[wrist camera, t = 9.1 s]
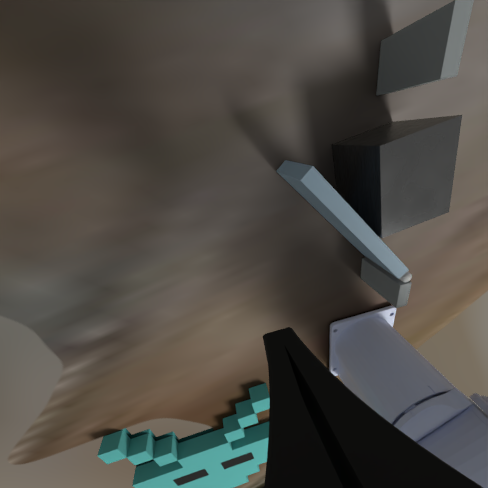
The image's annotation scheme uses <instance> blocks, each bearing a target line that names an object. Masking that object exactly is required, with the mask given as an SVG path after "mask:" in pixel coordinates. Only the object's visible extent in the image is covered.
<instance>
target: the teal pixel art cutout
mask: <svg viewBox="0 0 488 488" xmlns="http://www.w3.org/2000/svg"><path fill="white" fill-rule="evenodd" d="M249 393H250V398H251V399H249V400H246V401H243V402H240V403H237V404H235V406H236V413H237V414H235V415H232V416H229V417H226V418H223V427H224V428H222V429H219V430H216V431H214V430H213V428H210V429H207V430H204V431H201V432H198V433H195V434H193V435H190V436H187V437H184V438H181V439H178V437H177V436H176V435H175V433H174V432H170V433H167V434H164V435H161V436H158V437H156V436H155V435H154V434H153V432H152V431H151V430H150V429H147V430H144V431H141V432H138V433H135V434H131V433H130V432H129V431H128V430H127V429H126V428H125V429H122V430H119V431H117V432H114V433H112V434H109V435H106V436H104V437H103V440H102V443H101V446H100V449H99V452H98V457H99V458H101V459H102V460H103V461H104V462H105V463H106V464H109V463H112V462H115V461H118V460H121V459H124V458H128V459H129V460H130V461H131V462H132V463H133V464H134V465H136V470H135V475H134V480H133V487H135V488H233V487H235V486H238V485H241V484H244V483H246V482H249V481H248V475H250V474H253V473H256V472H258V471H260V470H259V464H261V463H264V462H267V452H268V438H269V421H268V422H266V423H263V424H260V425H257V426H254V427H251V428H248V429H245V430H244V427H247V426H250V425H253V424H256V423H258V419H257V414H256V413H258V412H261V411H264V410H267V409H270V396H269V393H268V389H267V386H266V383H264V384H261V385H258V386H255V387H252V388H249Z"/></svg>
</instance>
